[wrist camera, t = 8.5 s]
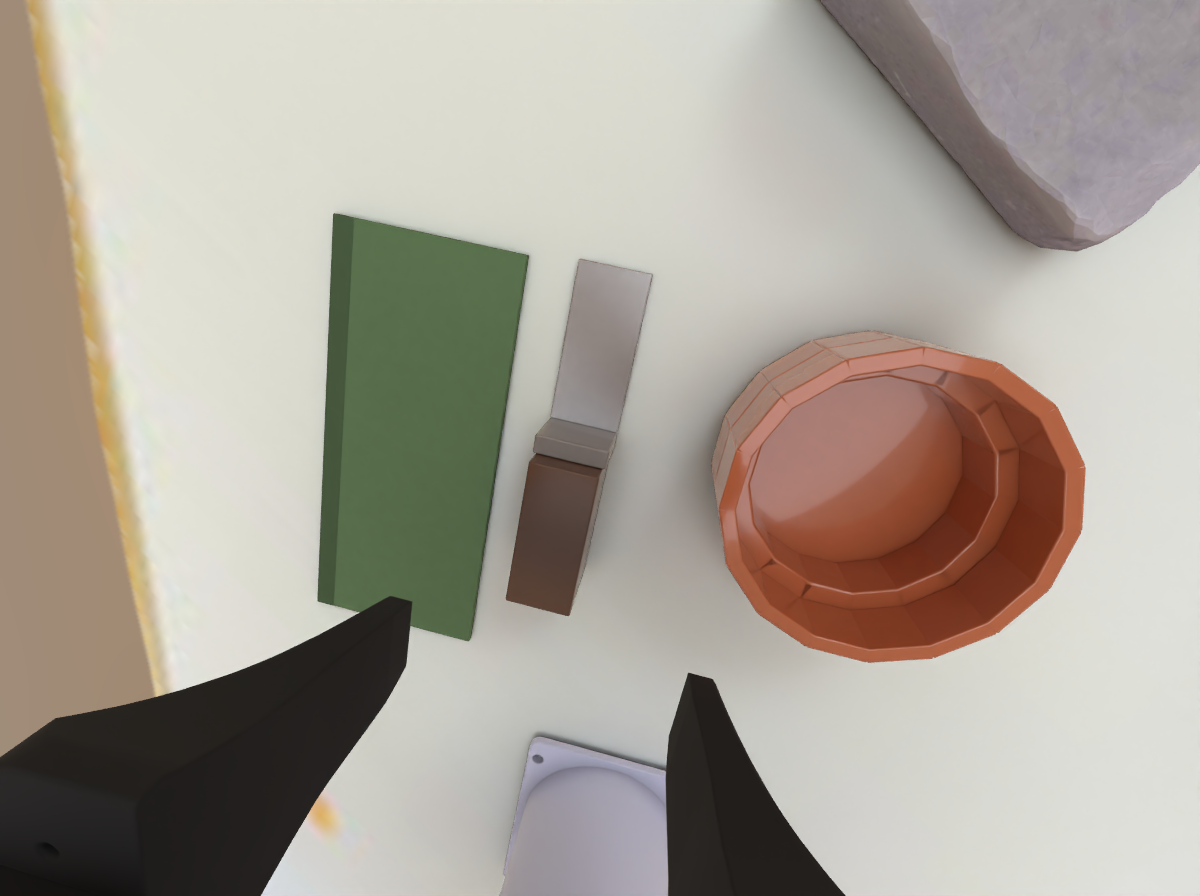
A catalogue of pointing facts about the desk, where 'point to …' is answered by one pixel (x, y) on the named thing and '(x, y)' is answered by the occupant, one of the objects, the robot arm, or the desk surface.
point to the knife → (577, 437)
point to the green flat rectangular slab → (413, 417)
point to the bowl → (894, 496)
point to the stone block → (1048, 101)
